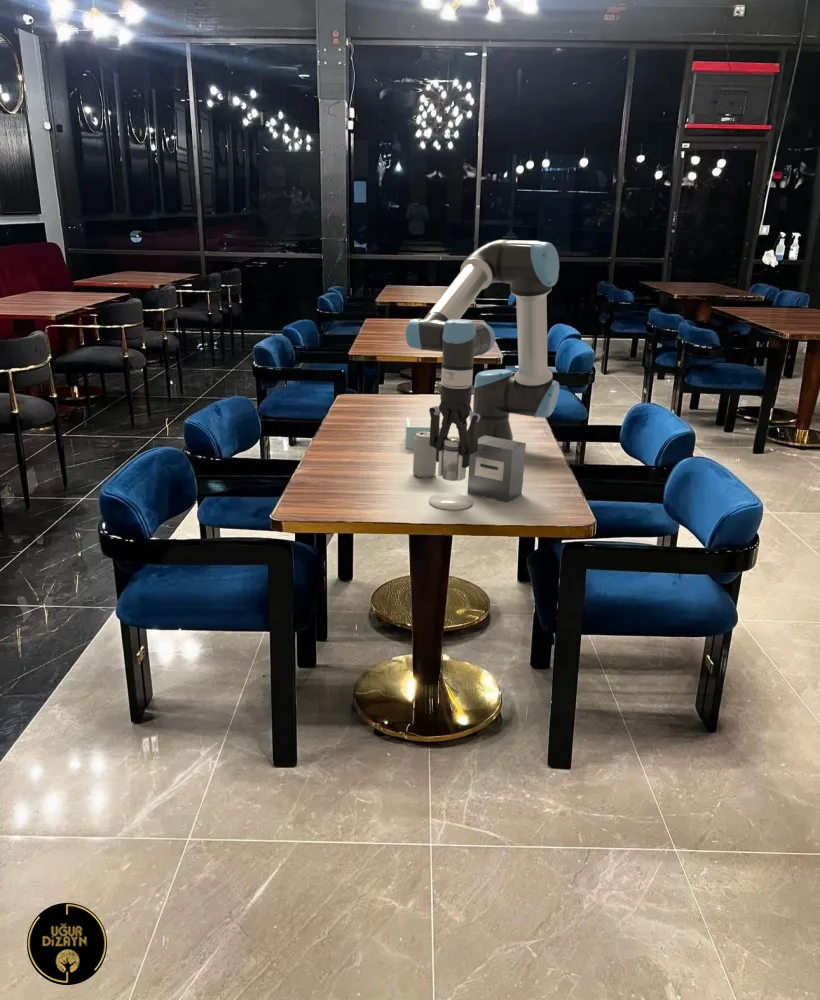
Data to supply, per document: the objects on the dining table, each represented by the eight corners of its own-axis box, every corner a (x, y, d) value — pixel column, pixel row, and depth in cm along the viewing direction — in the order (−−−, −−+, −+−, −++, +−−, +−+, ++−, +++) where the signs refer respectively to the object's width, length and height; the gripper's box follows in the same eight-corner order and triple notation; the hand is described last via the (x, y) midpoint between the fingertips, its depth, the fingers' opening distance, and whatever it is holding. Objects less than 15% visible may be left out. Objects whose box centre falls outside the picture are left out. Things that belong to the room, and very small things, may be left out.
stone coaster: (442, 492, 206) (442, 490, 206) (479, 501, 200) (479, 498, 200) (420, 504, 197) (420, 501, 197) (458, 513, 192) (459, 511, 191)
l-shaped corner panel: (444, 451, 244) (445, 427, 241) (406, 450, 243) (406, 426, 241) (442, 440, 255) (443, 418, 252) (405, 439, 255) (406, 417, 252)
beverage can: (422, 470, 223) (423, 429, 219) (440, 475, 219) (442, 433, 215) (408, 475, 219) (409, 433, 214) (426, 480, 215) (427, 438, 211)
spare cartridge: (447, 473, 200) (449, 435, 196) (465, 476, 197) (468, 438, 194) (438, 478, 196) (439, 440, 192) (456, 482, 193) (458, 443, 190)
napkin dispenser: (481, 485, 212) (484, 435, 207) (521, 494, 206) (525, 443, 201) (466, 493, 205) (469, 442, 201) (507, 503, 200) (511, 450, 195)
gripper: (416, 382, 190) (413, 473, 198) (482, 393, 181) (476, 488, 189) (432, 378, 196) (428, 466, 204) (496, 388, 187) (490, 480, 195)
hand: (451, 476), depth 196 cm, fingers closed on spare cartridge, 5 cm apart
